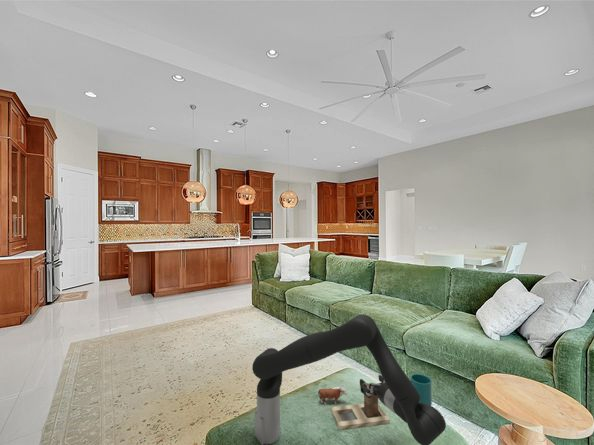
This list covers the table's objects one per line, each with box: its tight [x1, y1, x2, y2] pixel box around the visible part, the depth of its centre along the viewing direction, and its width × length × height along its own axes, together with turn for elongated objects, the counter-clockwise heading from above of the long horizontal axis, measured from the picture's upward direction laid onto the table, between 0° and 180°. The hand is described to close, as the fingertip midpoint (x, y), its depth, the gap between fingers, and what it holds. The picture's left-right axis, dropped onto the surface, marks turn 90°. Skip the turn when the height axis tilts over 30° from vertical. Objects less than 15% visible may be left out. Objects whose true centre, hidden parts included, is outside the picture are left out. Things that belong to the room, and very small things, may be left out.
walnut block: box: [363, 386, 379, 418], centre depth 121 cm, size 4×4×12 cm
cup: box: [410, 373, 433, 406], centre depth 132 cm, size 9×12×11 cm
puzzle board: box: [330, 402, 391, 431], centre depth 120 cm, size 22×12×2 cm, turn 100°
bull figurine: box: [317, 386, 348, 405], centre depth 130 cm, size 4×13×8 cm, turn 89°
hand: (370, 379), depth 114 cm, fingers open, 8 cm apart
